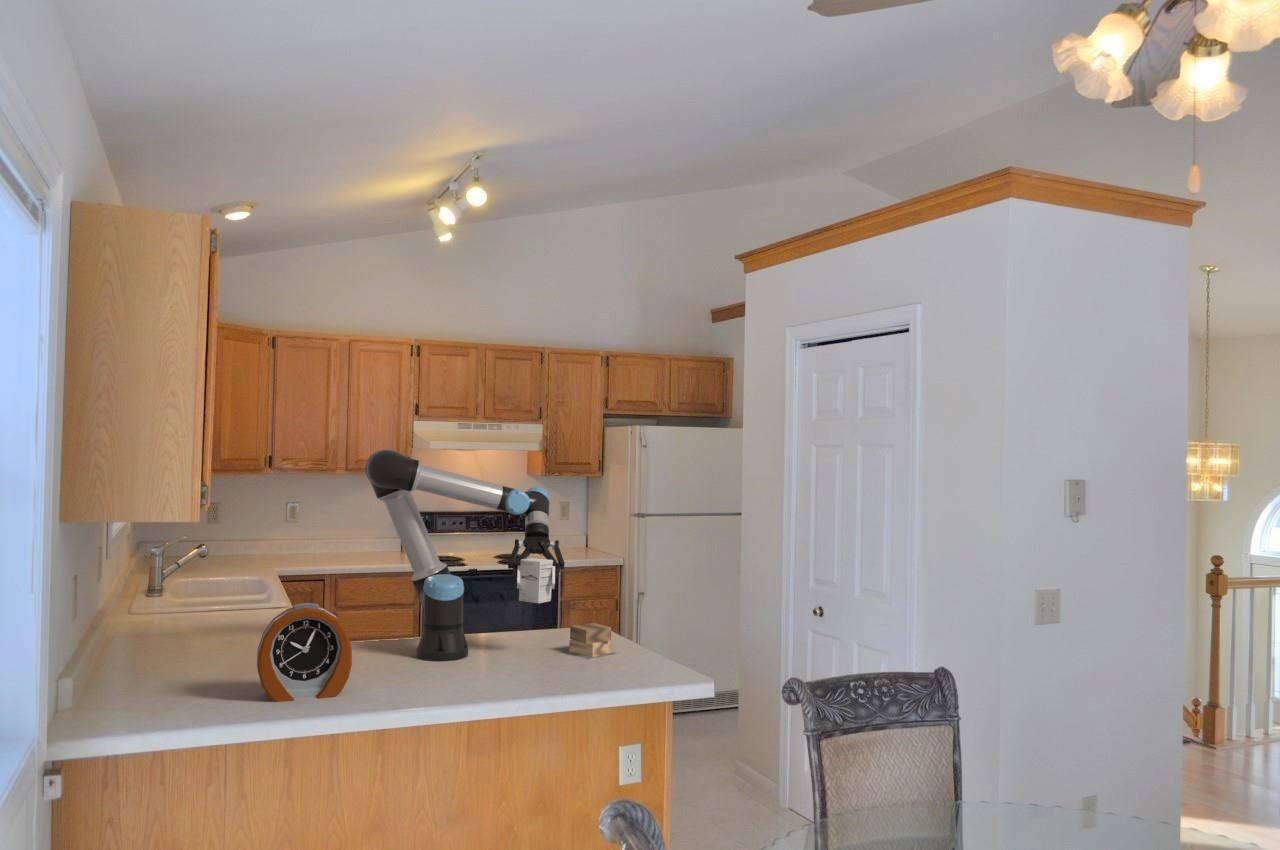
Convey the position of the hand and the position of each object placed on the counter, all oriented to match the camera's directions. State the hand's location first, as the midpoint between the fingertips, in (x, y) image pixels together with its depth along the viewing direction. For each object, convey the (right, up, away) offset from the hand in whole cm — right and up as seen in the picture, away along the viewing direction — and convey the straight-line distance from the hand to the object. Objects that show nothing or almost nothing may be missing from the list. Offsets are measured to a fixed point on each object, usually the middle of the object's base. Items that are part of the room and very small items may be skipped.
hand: (535, 585), depth 289 cm
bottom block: (+16, -21, +5) cm, 27 cm away
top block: (+16, -17, +5) cm, 24 cm away
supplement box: (-1, -5, +3) cm, 6 cm away
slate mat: (+16, -22, +4) cm, 27 cm away
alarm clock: (-53, -19, -48) cm, 74 cm away
